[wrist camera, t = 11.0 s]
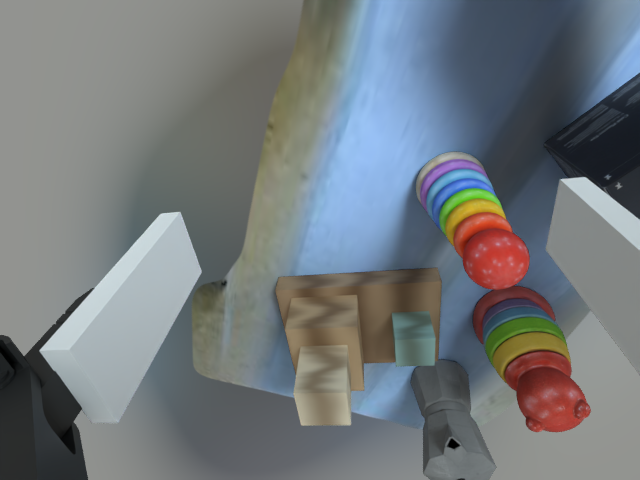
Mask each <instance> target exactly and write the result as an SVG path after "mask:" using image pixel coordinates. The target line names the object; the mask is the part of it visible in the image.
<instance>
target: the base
mask: <svg viewBox="0 0 640 480" xmlns="http://www.w3.org/2000/svg"><path fill="white" fill-rule="evenodd" d="M441 284H442V281H441V278H440V275H439V271H438V268H424V269H407V270H390V271H373V272H356V273H339V274H322V275H305V276H288V277H279V279H278V282H277V286H276V290H275V291H276V295H277V299H278V304H279V308H280V312H281V316H282V320H283V324H284V329H285V333H286V337H287V341H288V345H289V349H290V354H291V358H292V362H293V365H294V369H295V373H297V367H298V360H299V353H300V347H301V346H330V345H347V346H348V354H349V363H350V371H351V391H364V363H388V362H396V366H433V365H435V361H438V353H439V330H440V307H441Z"/></svg>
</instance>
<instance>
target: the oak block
mask: <svg viewBox="0 0 640 480" xmlns="http://www.w3.org/2000/svg"><path fill="white" fill-rule="evenodd" d="M293 394H294V398H295V402H296V406H297V410H298V414H299V418H300V422H301V425H351V371H350V363H349V354H348V346H347V345H330V346H301V347H300V353H299V360H298V367H297V373H296V380H295V386H294V393H293Z"/></svg>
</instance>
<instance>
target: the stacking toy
mask: <svg viewBox="0 0 640 480" xmlns="http://www.w3.org/2000/svg"><path fill="white" fill-rule="evenodd" d="M416 194H417V197H418V200H419V202H420V203H421V205H422V206H423V207H424V209H425V210H426V212H427V213H428V214H429V215H430V217H431V218H432V220H433V221H434V222H435V224H436V225H437V227H438V228H439V229H440V230H441V231H443V233H444V234H445V235H446V236H447V238H448V240H449V242H450V243H451V244H452V245H453V246H454V247H455V250H456V252H457V253H458V254H459V255H460V256H461V257H462V258H463V265H464V269H465V271H466V273H467V274H468V276H469V277H470V278H471V279H472V280H473V281H474V282H475V283H477V284H478V285H480V286H482V287H484V288H488V289H493V290H500V289H505V288H509V287H511V286H513V285H515V284H517V283H518V282H519V281H521V280H522V278H523V277H524V276H525V274H526V272H527V271H528V268H529V262H530V258H529V252H528V249H527V247H526V245H525V243H524V242H523V241H522V240H521V239H520V238H519V237H518V236H517V235H515V234H514V233H513V231H512V228H511V226H510V224H509V222H508V221H507V220H506V216H505V214H504V211H503V210H502V206H501V203H500V201H499V200H498V198H497V197H496V194H495V192H494V189H493V186H492V184H491V182H490V181H489V178H488V176H487V174H486V172H485V169H484V167H483V165H482V164H481V163H480V162H479V161H478V160H477V159H476V158H475V157H473V156H471V155H469V154H467V153H463V152H447V153H443V154H441V155H438V156H436V157H435V158H433V159H432V160H430V161H429V162H428V163H427V164H426V165H425V166H424V167H423V168H422V169H421V171H420V173H419V175H418V177H417V181H416Z"/></svg>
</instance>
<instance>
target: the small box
mask: <svg viewBox="0 0 640 480" xmlns="http://www.w3.org/2000/svg"><path fill="white" fill-rule="evenodd" d="M544 147H545V148H546V149H547V150H548V151H549V153H550V154H551V155H552V157H553V158H554V159H555V160H556V162H557V163H558V165H559V166H560V167H561V168H562V170H563V171H564V173H565V174H566V175H567V176H568V178H579V177H586V178H587V179H588V180H590V181H591V182H592V183H593V184H595V185H596V186H597V187H599V188H600V189H601V190H602V191H604V192H605V193H606V194H607V195H609V196H610V197H611V198H613V199H614V200H615V201H616V202H618V203H619V204H620V205H621V206H623V207H624V208H625V209H627V210H628V211H629V212H630V213H632V214H633V215H634V216H635V217H637V218H638V219H639V220H640V73H639V74H638V75H637V76H635V77H634V78H632V79H631V80H630V81H628V82H627V83H626V84H624V85H623V86H622V87H620V88H619V89H617V90H616V91H615V92H613V93H612V94H611V95H609V96H608V97H607V98H605V99H604V100H602V101H601V102H600V103H598V104H597V105H596V106H594V107H593V108H592V109H590V110H589V111H588V112H586V113H585V114H583V115H582V116H581V117H580V118H578V119H577V120H576V121H574V122H573V123H571V124H570V125H568V126H567V127H566V128H564V129H563V130H562V131H560V132H559V133H558V134H556V135H555V136H554V137H552V138H551V139H549V140H548V141H547V142H545V143H544Z"/></svg>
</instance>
